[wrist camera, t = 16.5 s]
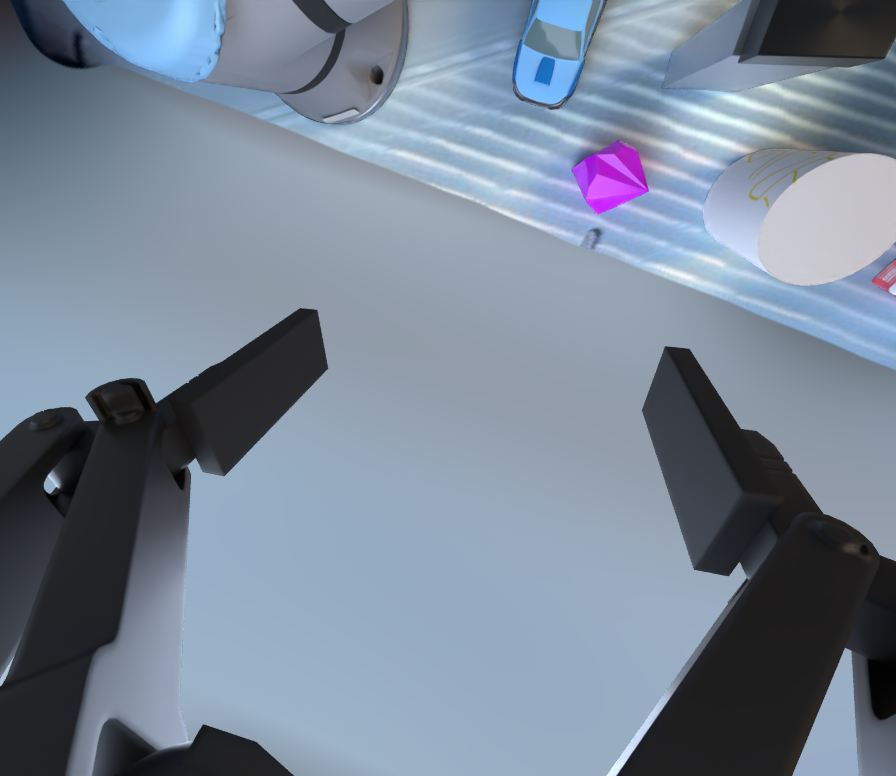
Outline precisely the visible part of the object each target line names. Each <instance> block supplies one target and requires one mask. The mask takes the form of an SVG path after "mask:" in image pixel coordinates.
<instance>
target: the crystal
mask: <svg viewBox="0 0 896 776" xmlns="http://www.w3.org/2000/svg"><path fill="white" fill-rule="evenodd" d="M572 171H573V173H574V176H575V178H576V180H577V182H578V185H579V187H580V189H581V191H582V193H583V196H584V198H585V200H586V202H587V203H588V204H589V206H590V207H591V208H592V209H593V211H594V212H595V213H597V214H600V213H602V212H605V211H607V210H609V209H612V208H614V207H616V206H618V205H621V204H623V203H625V202H627V201H629V200H631V199H633V198H635V197H637V196H640V195H642V194H644V193H646V192H648V191H649V190H648V186H647V183H646V179H645V176H644V172H643V169H642V165H641V162H640V158H639V155H638V152H637V150H636V149H635V148H634V147H633V146H631V145H629V144H627V143H625V142H623V141H621V140H617V141H616V142H614V143H612V144H610V145H609V146H607V147H605V148H603V149H601V150H600V151H598V152H596V153H594V154H593V155H591V156H589V157H587V158H586V159H584V160H583V161H582V162H580V163H579V164H578V165H576V166H575V167H574V168H572Z"/></svg>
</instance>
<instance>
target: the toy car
mask: <svg viewBox="0 0 896 776" xmlns="http://www.w3.org/2000/svg"><path fill="white" fill-rule="evenodd" d="M606 2H607V0H533V1H532V5H531V9H530V13H529V16H528V20H527V24H526V28H525V30H524V36H523V39H522V40H521V41H520V43H519V45H518V49H517V53H516V57H515V62H514V68H513V85H514V88H513V90H514V93H515V95H516V96H517V97H518V98H519V99H520V100H521V101H525V102H527V103H530V104H532V105H536V106H539V107H542V108H547V109H550V110H555V109H560V108H562V107H563V106H564V105H565V104H566V102H567V101H568V99H569V98H570V97H571V96H572V95H573V93H574V91H575V88H576V85H577V82H578V80H579V77H580V74H581V71H582V69H583V66H584V63H585V55H586V53H587V50H588V48H589V45H590V43H591V40H592V38H593V35H594V32H595V30H596V27H597V25H598V22H599V20H600V17H601V15H602V12H603V9H604V7H605V4H606Z"/></svg>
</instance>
